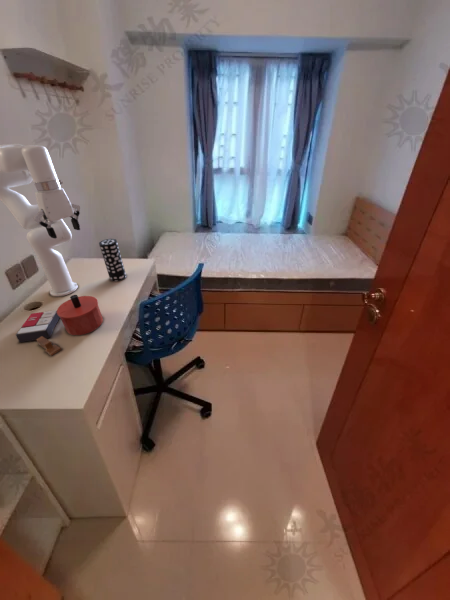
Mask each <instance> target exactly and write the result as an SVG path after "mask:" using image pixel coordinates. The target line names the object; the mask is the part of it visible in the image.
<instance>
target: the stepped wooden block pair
mask: <svg viewBox="0 0 450 600" xmlns="http://www.w3.org/2000/svg"><path fill="white" fill-rule="evenodd" d="M35 341H36V342H37V344H38V345H39V346H40V347H42V348H43V349H45V350H44V351H45V352H44V353H46V354H48V355H50V356H51V357H52V356H54V355H55V354H57V353H58V352H60V351H62V348H61V347H60V346H59V345H57V344H53V343H52V341H50V340H49V339H48V338H44V337H43V336H41V337H40V338H38V339H36V340H35Z"/></svg>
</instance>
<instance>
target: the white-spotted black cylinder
mask: <svg viewBox="0 0 450 600" xmlns="http://www.w3.org/2000/svg"><path fill="white" fill-rule="evenodd" d="M98 245H99V248H100V251H101V255H102V259H103V262H104V265H105V268H106V271H107V274H108V278H109V280H110V281H111V282H121V281H123V280H125V279H126V278H127V274H126V270H125V266H124V262H123V259H122V255H121V252H120V248H119V244H118V240H117V239H116V238H105V239H103V240H101V241H99V242H98Z"/></svg>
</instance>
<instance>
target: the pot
mask: <svg viewBox="0 0 450 600" xmlns="http://www.w3.org/2000/svg"><path fill="white" fill-rule="evenodd" d="M59 319H60V320H61V323H62V325H63V326H64V329H65V331H66V332H67V333H68V334H69V335H72V336H83V335H87V334H90V333H92V332H94V331H96V330H97V329H99V328H100V326H101V325H102V324H103V323H104V319H103V314H102V313H101V310H100V307H99V304H98V305H97V307H96V308H95V309H94V310H93V311H92V312H90V313H88V314H86V315H84V316H81V317H78V318H72V319H65V318H61V317H60V318H59Z"/></svg>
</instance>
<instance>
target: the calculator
mask: <svg viewBox="0 0 450 600" xmlns="http://www.w3.org/2000/svg"><path fill="white" fill-rule="evenodd" d="M60 319H61V318H60V317H59V316H58V314H57V309H55V310H54V309H53V310H48V311H46V310H45V311H40V312H33V313H30V314H29V316H28V317H27V318H26V320H24V321H25V322H23V324H22V325H21V327H20V328H19V329H18V331H17V332H16V333H15V337H16V339H17V340H18V342H19V343H25V342H32V341H37V340H36V339H38V338H40V337H41V336H43V337H44V338H46V339H50V338H51V336H52V334H53V333H54V329H55V327H56V326H57V323H58V322H59V320H60Z"/></svg>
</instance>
